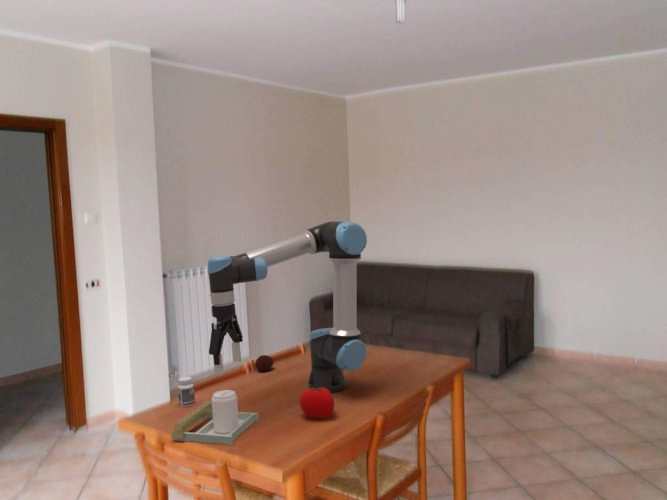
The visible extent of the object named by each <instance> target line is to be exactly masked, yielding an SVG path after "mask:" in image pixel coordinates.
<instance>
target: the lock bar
mask: <svg viewBox="0 0 667 500" xmlns="http://www.w3.org/2000/svg"><path fill="white" fill-rule="evenodd" d="M211 411H212V400H205V401H204V402H202V403H201V404H200V405H199V406H197V407H195V408H194V409H193V410H191V411H190V412H189V413H187V414H186V415H185V416H183V417H181V418H180V419H179V420H177V421H175V422H174V430H173V432H172V431H171V432H172V438H179V439H184V438H185V435H184V432H187V431H188V430H189V429H190V428H192V426H194V425H196V423H198V422H199V421H201V420H202V419H204V418H203V417H205V416H206V415H207V414H209V413H210V412H211Z"/></svg>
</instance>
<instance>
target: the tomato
mask: <svg viewBox="0 0 667 500" xmlns="http://www.w3.org/2000/svg"><path fill="white" fill-rule="evenodd" d="M299 405H300V407H301V411H302V413H303V414H304V416H306V417H308V418H310V419H311V418H312V419H315V420H316V419H318V420H319V419H321V420H323V419H327V418H330V417H331V416H332V415H333V413H334V411H335V401H334V397H333V394H332V393H330V391H329V390H328V389H326V388H320V387H316V388H310V389H308V388H307V389H304V390H303V391H302V393H301V394H300V398H299Z"/></svg>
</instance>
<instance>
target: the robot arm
mask: <svg viewBox="0 0 667 500" xmlns="http://www.w3.org/2000/svg"><path fill="white" fill-rule="evenodd" d="M367 243H368V237H367V233H366V231H365V229H364V228H363V227H362V226H361V225H360V224H358V223H357V222H353V221H348V220H347V221H327V222H324V223H321V224H318V225H316V226H313V227H311V228H308V229H305V230H303V231H302V233H301V234H298V235H295V236H291V237H289V238H285V239H283V240H280V241H277V242H274V243H271V244H268V245H264V246H261V247H258V248H255V249H253V250H249V251H246V252H244V253H241V254H236V255H234V256H233V255H219V256H218V255H217V256H212V257H209V258H208V260H207V273H208V281H209V291H210V294H209V297H210V303H211V305H212V306H211V315H212V317H213V318H215V319H216V322H212V323H211V332H210V341H209V347H208V348H209V349H208V354H209V355H211V356H212V355H213V357H212V359H213V368H214V375H224V363H223V362H224V359H223V353H221V352H222V348H223V344H224V339H225V336H226V335H227V334H228V335H229V337H230V339H231V341H232V342H231V352H232V353H231V354H232V361H233V362H234V363H236V362H237V363H240V362H242V353H241V343H242V342H243V339H244V338H243V333H242V330H241V328H240V324H239V321H238V316H237V313H236V305H235V303H234V302H235V301H236V300H235V291H234V288H235V287H234V285H236V284H242V283H250V282H258V281H262V280H265V279H266V278H267V276H268V268H270V267H272V266H275V265H278V264H281V263H283V262H288V261H289V260H292V259H295V258H299V257H301V256H304V255H307V254H310V255H315V254H318V253H328V259H329V261H331V263H332V270H333V271H332V272H333V273H332V274H333V275H332V281H333V283H332V286H333V287H332V289H333V291H332V294H333V296H332V297H333V299H332V300H333V301H332V303H333V304H332V305H333V309H332V311H333V312H332V313H333V314H332V315H333V318H332V321H333V322H332V323H333V326H332V327H325V328H318V329H314V330H312V331H311V332H310V333H309V343H310V344H309V345H310V363H311V370H310V373H309V377H308V381H307V389H310V388H316V387H320V388H326V389H328V390H329V391H330V393H331V394H332V393H338V392H340V391H343V390H345V389H346V388H347V384H348V383H347V378H346V376H345V373H344V371H349V372H352V371H355V370H357V369H358V368H360V367H361V366H362V364H364V362H365V361H366V358H367V355H368V354H367V353H368V351H367V346H366V344H365V343H364V342H363V341H361V339H362V333H361V330H359V328H357V324H358V322H357V317H358V316H357V315H358V314H357V300H358V299H357V297H358V296H357V295H358V294H357V285H358V284H357V283H358V280H357V279H358V277H357V275H358V274H357V271H358V270H357V267H358V266H357V263H358V262H359V261H360V260H361V258H362V257H361V256H362V255H361V254H362V252H364V249H366V247H367Z"/></svg>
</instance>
